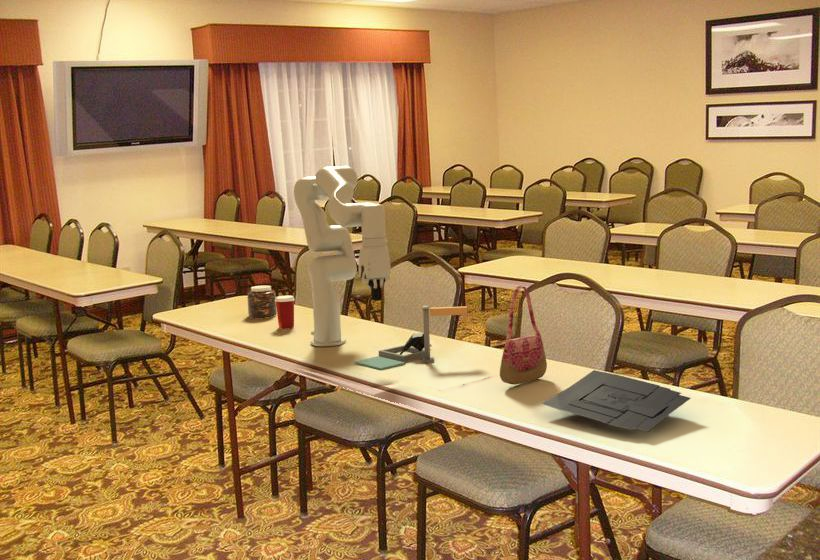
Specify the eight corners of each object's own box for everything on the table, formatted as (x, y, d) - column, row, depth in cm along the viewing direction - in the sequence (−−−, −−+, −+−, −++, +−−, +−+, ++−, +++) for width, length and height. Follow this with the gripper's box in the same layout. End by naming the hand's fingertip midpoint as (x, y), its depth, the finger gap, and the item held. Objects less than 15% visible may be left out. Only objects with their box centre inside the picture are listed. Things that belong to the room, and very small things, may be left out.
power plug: (398, 349, 293) (418, 326, 287) (417, 361, 294) (436, 338, 288) (395, 359, 288) (415, 335, 282) (414, 371, 289) (434, 347, 283)
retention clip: (467, 319, 280) (466, 304, 280) (467, 321, 278) (467, 305, 277) (422, 321, 280) (421, 306, 280) (422, 323, 278) (421, 307, 277)
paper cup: (300, 330, 342) (298, 295, 340) (287, 334, 335) (285, 298, 333) (285, 329, 346) (283, 294, 344) (272, 333, 340) (270, 297, 338)
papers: (643, 445, 203) (642, 431, 202) (541, 413, 224) (540, 400, 223) (695, 404, 219) (695, 391, 217) (595, 378, 240) (594, 366, 239)
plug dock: (378, 356, 291) (376, 305, 289) (403, 351, 298) (401, 300, 296) (417, 365, 276) (415, 311, 274) (443, 359, 283) (441, 306, 281)
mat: (354, 363, 283) (354, 361, 283) (378, 358, 289) (378, 356, 289) (381, 370, 272) (380, 368, 272) (405, 364, 279) (405, 362, 278)
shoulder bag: (506, 387, 246) (504, 290, 242) (499, 385, 248) (497, 289, 244) (547, 376, 256) (545, 283, 252) (540, 375, 258) (538, 282, 254)
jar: (278, 319, 371) (276, 284, 369) (275, 324, 359) (273, 288, 357) (250, 320, 370) (248, 285, 368) (247, 325, 358) (244, 289, 356)
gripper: (385, 240, 283) (387, 296, 285) (348, 244, 273) (351, 302, 276) (399, 241, 277) (402, 298, 280) (362, 245, 268) (365, 304, 270)
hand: (376, 299), depth 278 cm, fingers closed
